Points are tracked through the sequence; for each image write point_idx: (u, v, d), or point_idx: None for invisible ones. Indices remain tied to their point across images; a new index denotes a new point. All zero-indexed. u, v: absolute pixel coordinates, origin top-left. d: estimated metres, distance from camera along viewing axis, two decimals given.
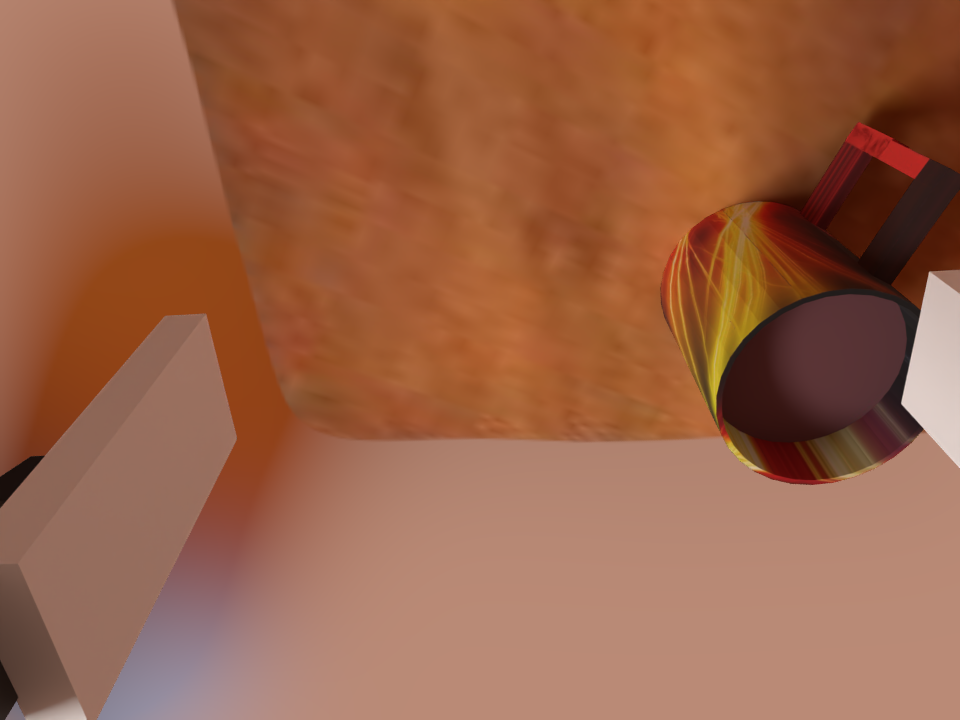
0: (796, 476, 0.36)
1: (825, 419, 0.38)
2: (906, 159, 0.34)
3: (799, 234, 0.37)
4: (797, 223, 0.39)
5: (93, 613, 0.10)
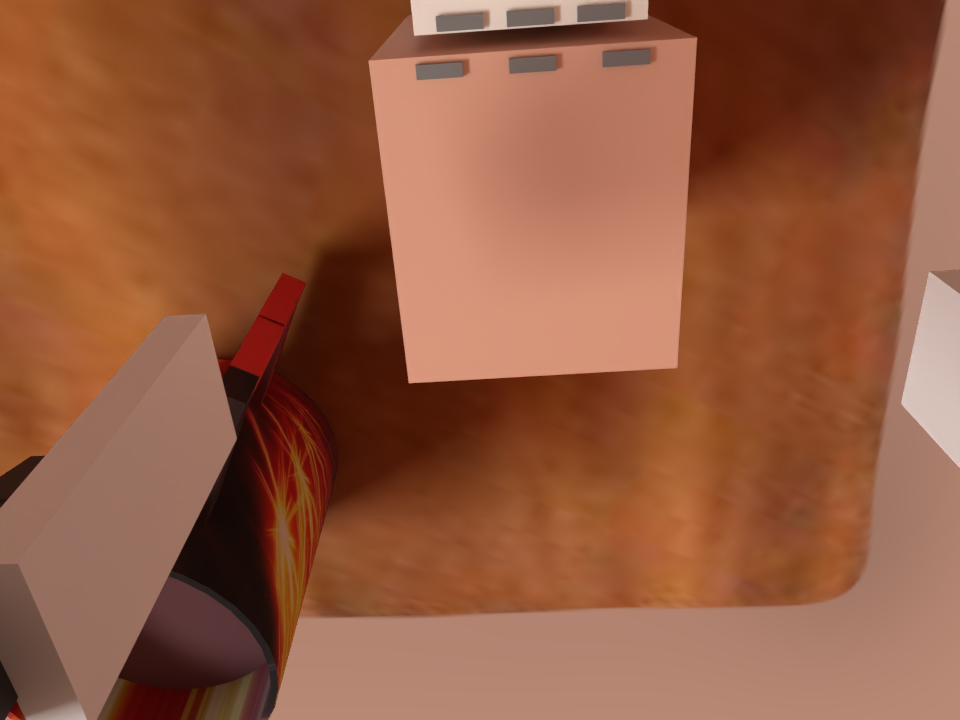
0: None
1: (221, 664, 0.29)
2: None
3: None
4: None
5: (93, 613, 0.10)
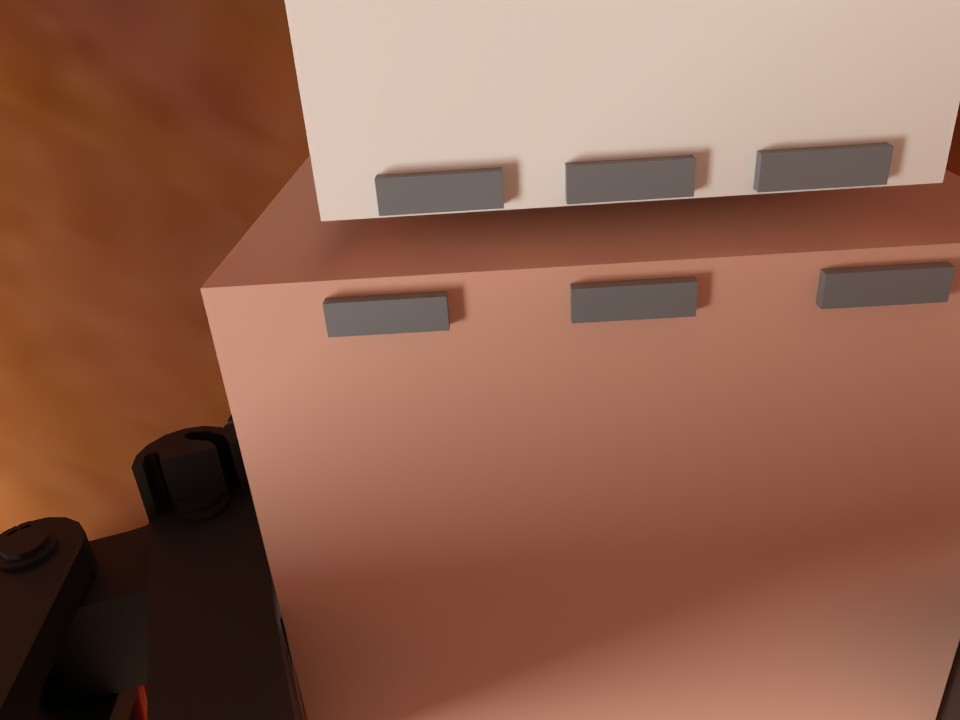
0: None
1: None
2: None
3: None
4: None
5: None
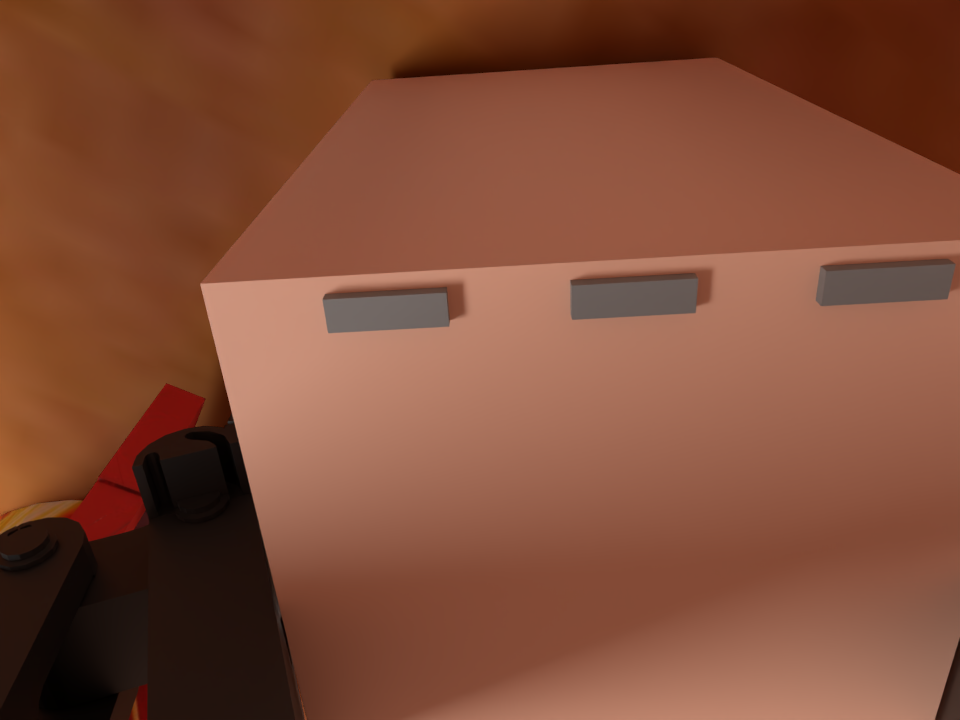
0: None
1: None
2: None
3: None
4: None
5: None
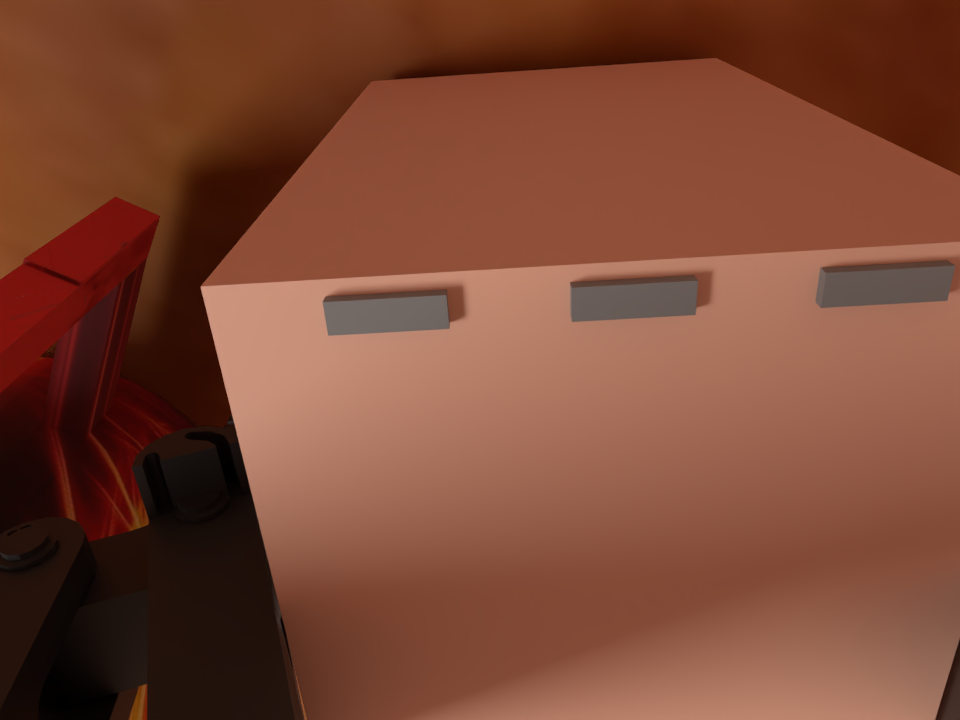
0: None
1: None
2: None
3: None
4: None
5: None
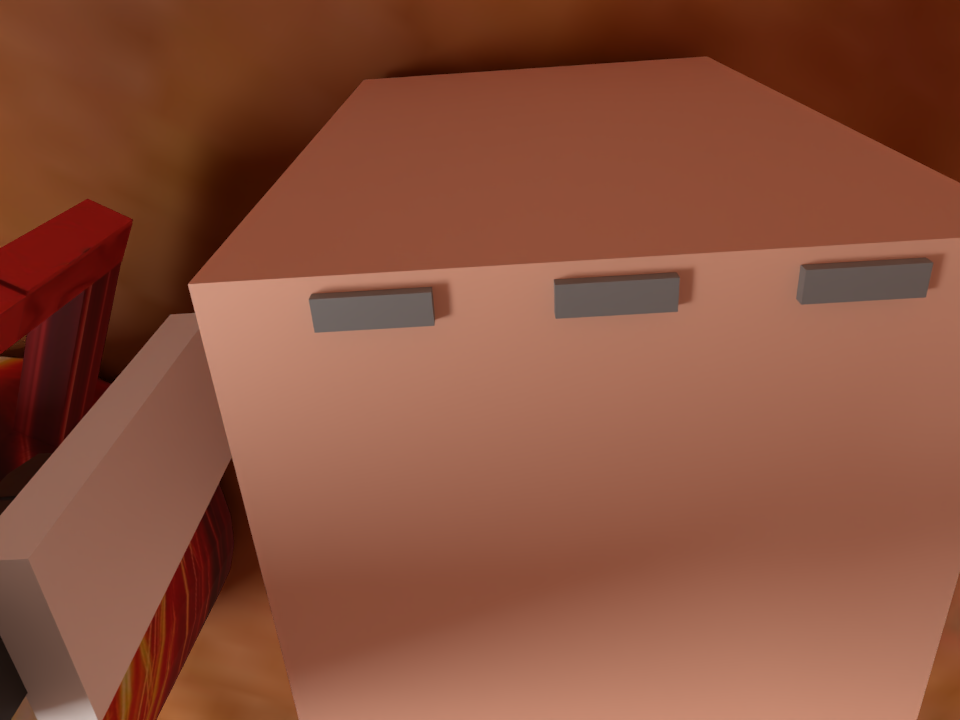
0: None
1: None
2: None
3: None
4: None
5: (101, 609, 0.10)
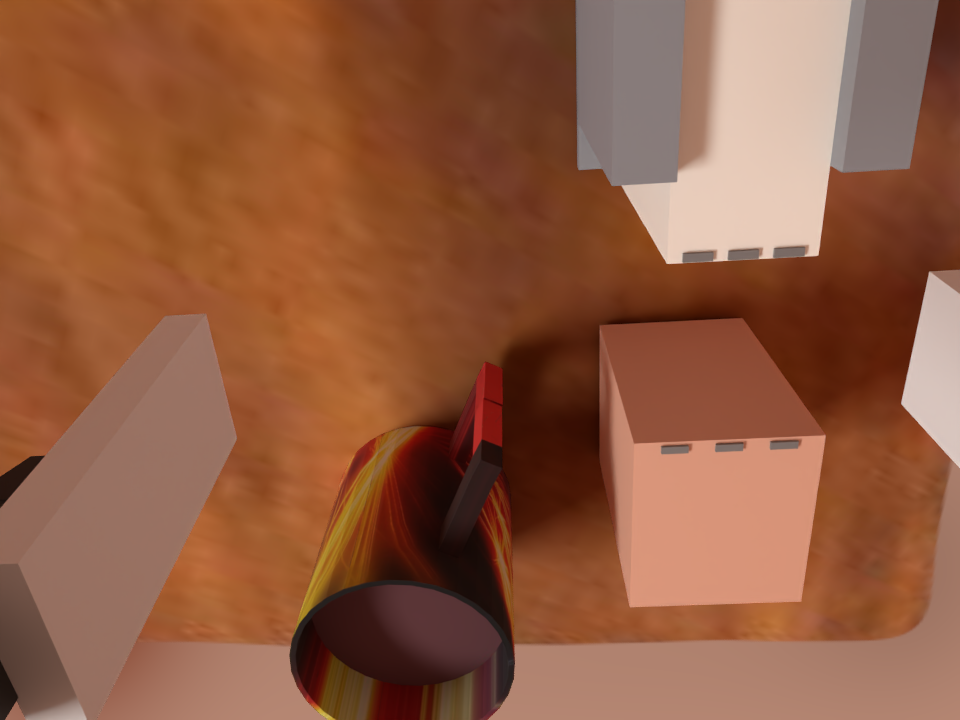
0: None
1: (448, 665, 0.38)
2: (478, 429, 0.34)
3: (412, 484, 0.38)
4: (426, 464, 0.39)
5: (93, 613, 0.10)
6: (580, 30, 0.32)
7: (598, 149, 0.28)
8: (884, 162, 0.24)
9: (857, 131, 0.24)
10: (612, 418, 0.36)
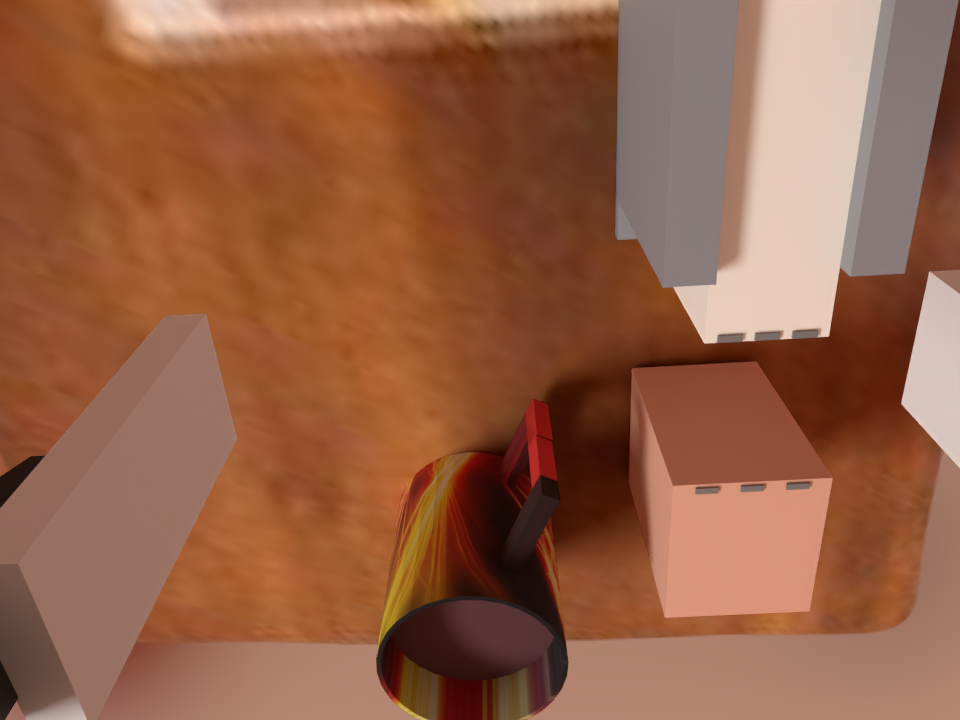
0: None
1: (505, 663, 0.44)
2: (534, 464, 0.40)
3: (472, 507, 0.43)
4: (482, 488, 0.45)
5: (93, 613, 0.10)
6: (623, 129, 0.37)
7: (645, 245, 0.33)
8: (884, 268, 0.29)
9: (863, 245, 0.29)
10: (646, 454, 0.41)
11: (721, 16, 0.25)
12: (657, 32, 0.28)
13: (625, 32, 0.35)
